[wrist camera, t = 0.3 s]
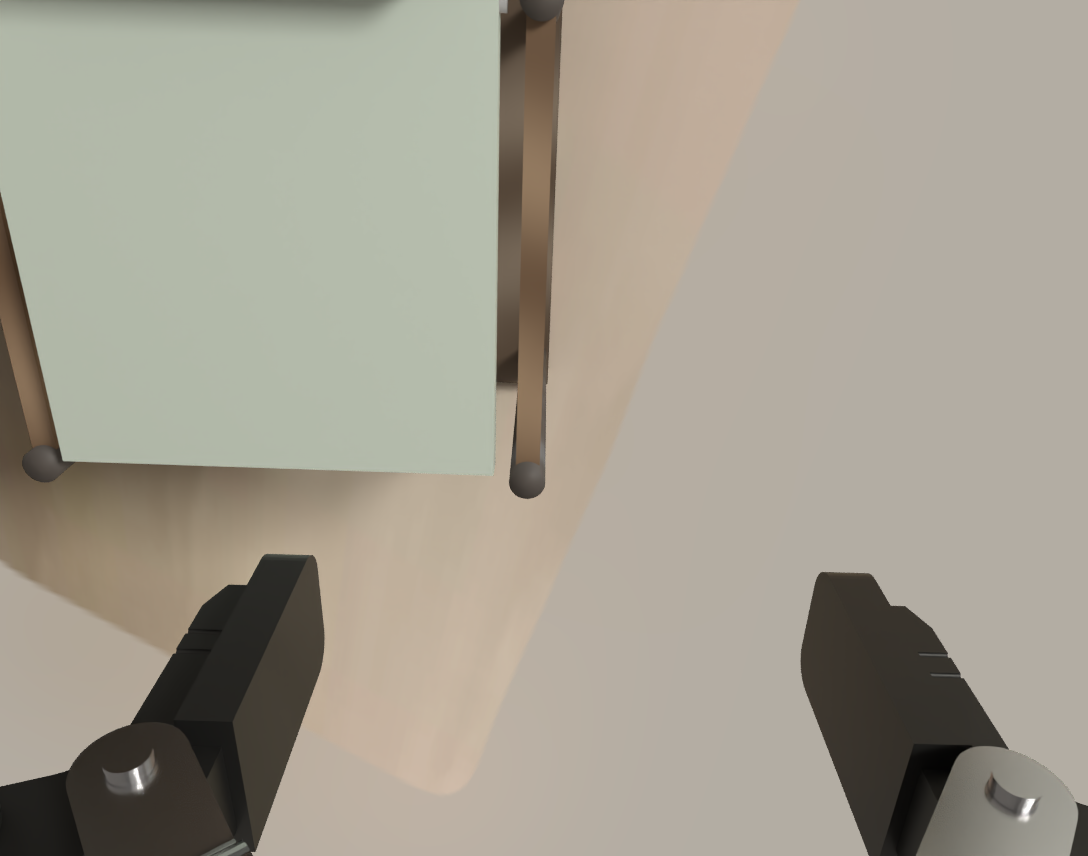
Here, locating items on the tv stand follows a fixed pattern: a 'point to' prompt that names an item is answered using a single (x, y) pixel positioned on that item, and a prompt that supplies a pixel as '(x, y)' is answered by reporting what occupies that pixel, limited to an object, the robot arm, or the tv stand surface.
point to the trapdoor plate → (259, 228)
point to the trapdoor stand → (521, 253)
